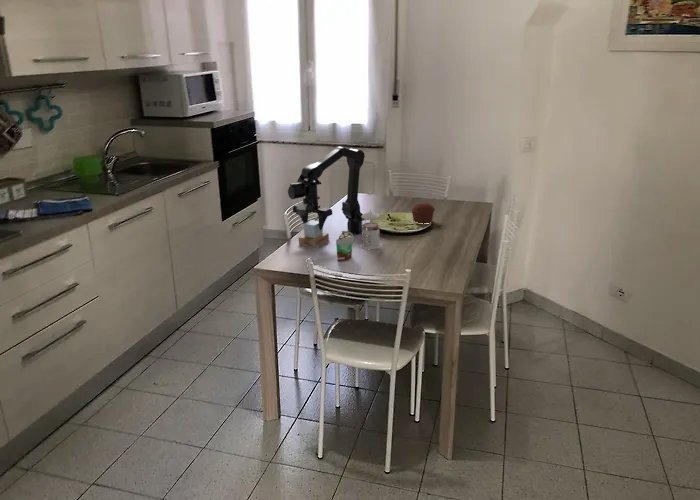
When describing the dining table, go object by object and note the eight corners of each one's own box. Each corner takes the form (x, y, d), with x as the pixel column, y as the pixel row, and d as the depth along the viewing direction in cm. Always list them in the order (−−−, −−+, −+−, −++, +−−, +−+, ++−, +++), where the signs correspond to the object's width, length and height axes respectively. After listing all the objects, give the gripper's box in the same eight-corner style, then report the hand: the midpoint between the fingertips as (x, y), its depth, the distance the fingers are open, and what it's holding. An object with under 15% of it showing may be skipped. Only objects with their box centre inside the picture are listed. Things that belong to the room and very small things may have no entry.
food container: (351, 263, 240) (350, 240, 237) (336, 262, 241) (335, 239, 238) (356, 252, 251) (356, 230, 248) (343, 252, 253) (342, 230, 249)
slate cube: (322, 234, 265) (322, 221, 263) (314, 238, 260) (314, 225, 258) (312, 232, 268) (311, 220, 266) (304, 236, 263) (303, 223, 261)
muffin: (408, 224, 286) (408, 205, 283) (414, 218, 296) (414, 199, 292) (431, 226, 282) (432, 206, 278) (437, 220, 291) (437, 200, 288)
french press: (366, 250, 253) (365, 195, 244) (354, 243, 263) (352, 189, 254) (386, 246, 257) (385, 191, 249) (373, 239, 267) (372, 186, 258)
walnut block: (328, 241, 268) (328, 233, 266) (318, 248, 259) (317, 240, 258) (310, 238, 272) (309, 230, 270) (299, 245, 264) (298, 237, 262)
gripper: (283, 196, 257) (286, 230, 262) (316, 202, 246) (318, 236, 252) (299, 191, 265) (301, 223, 270) (332, 196, 255) (333, 229, 260)
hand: (313, 228), depth 263 cm, fingers open, 8 cm apart
